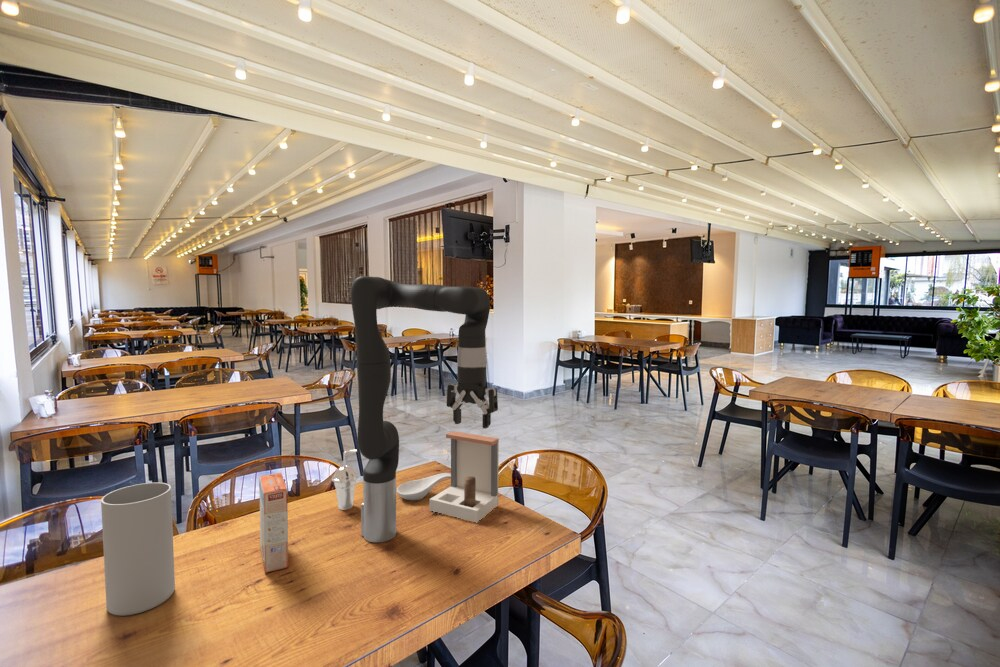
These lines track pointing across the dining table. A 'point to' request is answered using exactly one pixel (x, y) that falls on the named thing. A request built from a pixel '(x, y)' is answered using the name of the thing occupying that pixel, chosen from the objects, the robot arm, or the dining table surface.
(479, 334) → the robot arm
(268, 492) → the cracker box
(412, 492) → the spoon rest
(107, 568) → the cylinder vase
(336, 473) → the cup with straw
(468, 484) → the walnut dowel
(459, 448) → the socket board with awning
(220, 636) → the dining table surface
